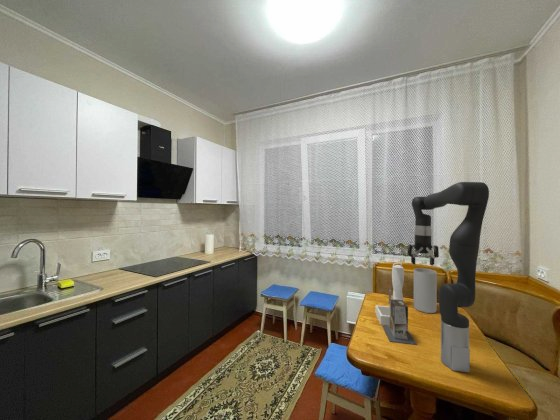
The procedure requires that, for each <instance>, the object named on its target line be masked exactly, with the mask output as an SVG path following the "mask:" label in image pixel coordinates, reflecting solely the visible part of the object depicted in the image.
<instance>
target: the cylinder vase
mask: <svg viewBox="0 0 560 420" xmlns="http://www.w3.org/2000/svg"><path fill="white" fill-rule="evenodd" d="M437 275H438V273H437V271H436V270H433V269H430V268H423V267H417V268H413V308H414V309H415V310H416V311H419V312H420V313H425V314H426V313H427V314H434V313H436V312H437V309H438V308H437V306H438V305H437V304H438V303H437V300H438V299H437V298H438V294H437V293H438V292H437V291H438V290H437V288H438V287H437V286H438V285H437V284H438V282H437V281H438V276H437Z"/></svg>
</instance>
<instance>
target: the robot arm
mask: <svg viewBox="0 0 560 420" xmlns="http://www.w3.org/2000/svg"><path fill="white" fill-rule="evenodd" d="M489 198H490V189H489V186H488V184H486V183H485V182H480V181H460V182H457V183H453V184H452V185H450V186H448V187H447V188H445V189H443V190H441V191H438V192H435V193H430V194H428V195H426V196H415V197H413V199H412V200H411V207H412V210H413V213H414V218H415V221H414V223H415V227H414V244H410V243H409V244H408V245H407V251H406V252H407V256H408V257H411V258H410V259H411V261H410V262H411V264H412V265H416V257H417V256H418V255H419V254H427V255H428V256H429V257H430V258H429V265H430V266H434V265H435V259H436V258H439V257H440V253H439V246H438V245H435V244H434V245H432V234H433V233H432V217H431V215H430V214H425V213H423V211H431V210H434V209H438V208H443V207H445V206H446V205H456V206H457V205H458V206H465V207H466V206H467V207H468V208H467V210H466V214H465V217H464V219H463V220H462V221H461V222H460V223H459V224H458V226H457V227H456V228H455V229H454V230H453V232H452V233H451V235H450V238H449V244H448V245H449V246H448V247H449V248H448V253H449V256H450V258H451V261H452V262H453V265H455V268H456V270H457V278H456V279H457V281H456V283H443V284H441V285H440V286H439V288H438V292H437V293H438V294H437V297H438V311H439V314H440V361H441V363H442V364H443V365H444V366H446V367H447V368H448V369H451V371H453V372H454V371H455V372H461V373H462V372H463V373H470V372H471V371H470V368H471V367H470V364H471V363H470V362H471V356H470V355H471V353H470V352H471V349H470V320H469V318H468V317H467V316H466V315H464V314H462V313H460V312H459V311H458V309H459V308H469V307H472V306H473V305H474V304H475V300H476V275H477V273H476V271H477V263H478V262H477V261H478V257H479V251H480V243H481V242H480V241H481V235H482V234H481V233H482V227H483V222H484V221H483V220H484V218H485V214H486V210H487V206H488V202H489ZM413 249H414V251H413ZM431 250H433V252H432V251H431Z"/></svg>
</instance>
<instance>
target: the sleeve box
mask: <svg viewBox="0 0 560 420" xmlns="http://www.w3.org/2000/svg"><path fill="white" fill-rule="evenodd" d="M374 307H375V309H374V310H375V312H374V313H376V314H375V315H376V318H377V319H378V323H379V325H381V326H382V325H383V326H390V305H389V306H388V305H386V306H385V305H376V304H375V306H374Z"/></svg>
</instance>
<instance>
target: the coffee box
mask: <svg viewBox="0 0 560 420" xmlns="http://www.w3.org/2000/svg"><path fill="white" fill-rule="evenodd" d="M389 307H390V315H389V316H390V330H391V332H392V334H393V336H394V338H399V339H406V340H407V339H408V331H409V306H408V305H407V304H406V302H404V300H403V301H402V300H392V298H391V299H390V304H389Z"/></svg>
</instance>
